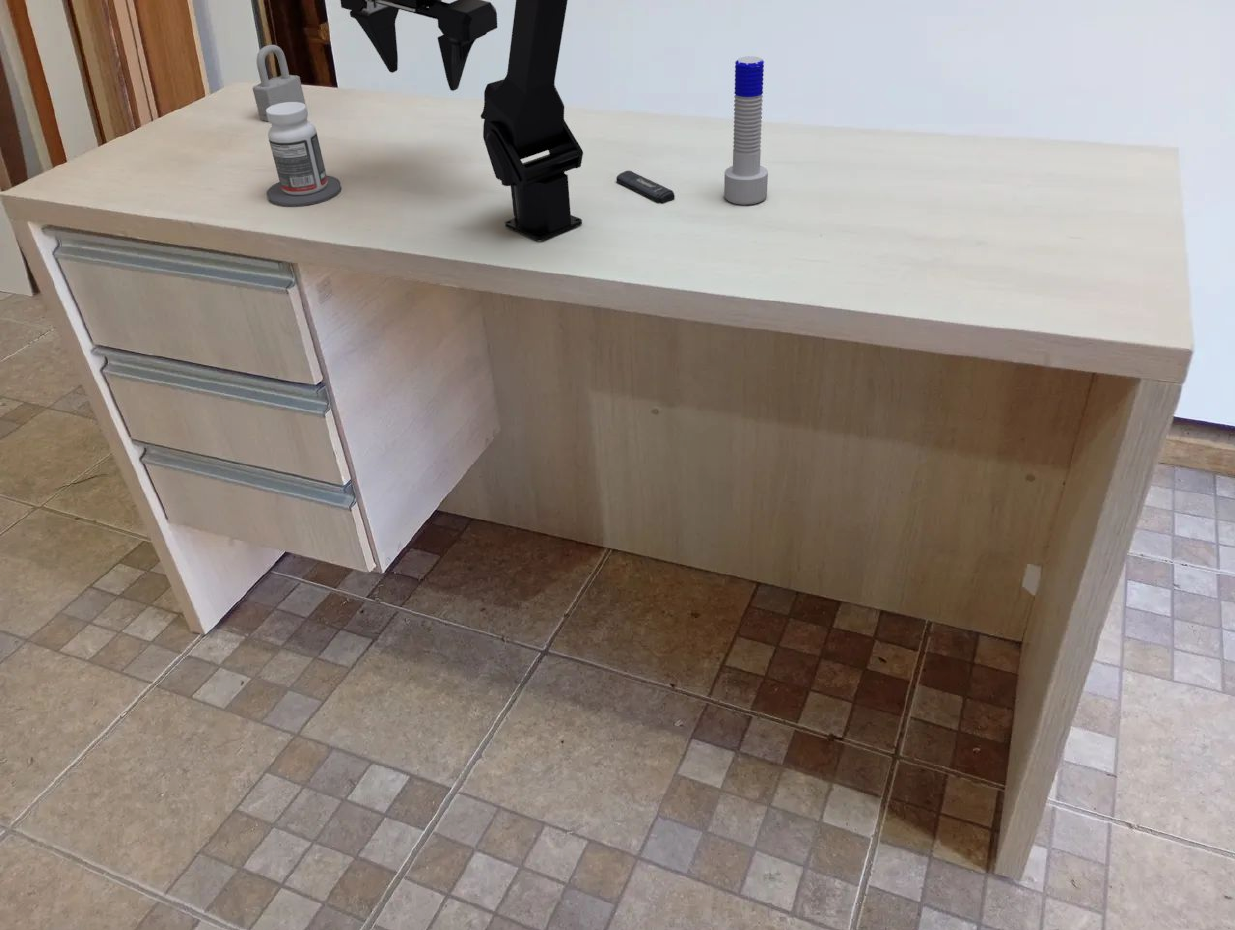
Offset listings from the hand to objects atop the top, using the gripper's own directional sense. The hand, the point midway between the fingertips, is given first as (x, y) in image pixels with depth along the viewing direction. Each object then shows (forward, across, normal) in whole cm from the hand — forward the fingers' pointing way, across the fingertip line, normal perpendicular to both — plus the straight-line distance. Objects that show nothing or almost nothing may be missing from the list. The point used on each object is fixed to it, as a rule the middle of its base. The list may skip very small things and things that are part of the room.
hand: (423, 80), depth 122 cm
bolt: (+8, -38, -11) cm, 41 cm away
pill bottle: (+13, +12, +11) cm, 20 cm away
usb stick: (+10, -27, -8) cm, 30 cm away
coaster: (+14, +12, +11) cm, 21 cm away
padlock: (+18, +38, -11) cm, 43 cm away
